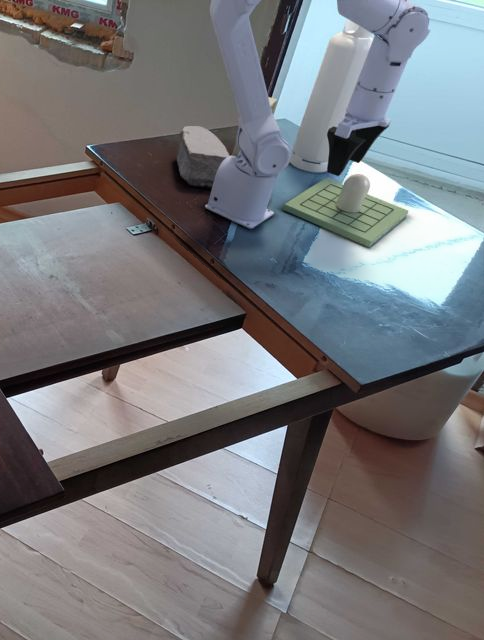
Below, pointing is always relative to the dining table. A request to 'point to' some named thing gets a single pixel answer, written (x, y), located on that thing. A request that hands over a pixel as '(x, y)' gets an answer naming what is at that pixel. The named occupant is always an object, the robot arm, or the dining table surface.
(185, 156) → the decorative stone
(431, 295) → the dining table surface
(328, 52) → the bottle
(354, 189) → the cream rounded cylinder
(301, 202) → the game board
